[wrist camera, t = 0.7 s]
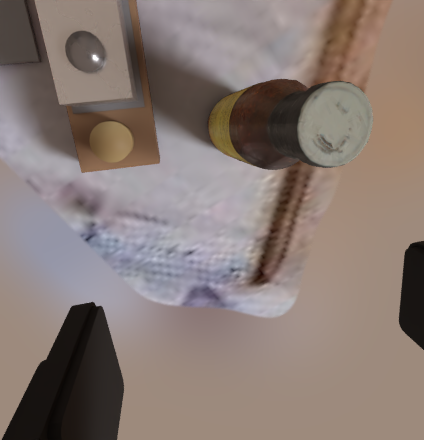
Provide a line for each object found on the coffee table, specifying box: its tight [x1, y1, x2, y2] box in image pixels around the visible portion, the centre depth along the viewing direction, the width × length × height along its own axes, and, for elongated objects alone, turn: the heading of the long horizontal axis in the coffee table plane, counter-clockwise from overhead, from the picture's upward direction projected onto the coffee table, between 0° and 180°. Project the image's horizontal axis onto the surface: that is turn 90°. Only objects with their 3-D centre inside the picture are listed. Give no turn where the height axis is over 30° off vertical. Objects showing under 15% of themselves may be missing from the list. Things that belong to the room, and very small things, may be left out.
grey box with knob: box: [35, 0, 138, 107], centre depth 23 cm, size 9×5×6 cm, turn 6°
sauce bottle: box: [208, 79, 373, 170], centre depth 24 cm, size 7×6×20 cm
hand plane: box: [66, 0, 160, 173], centre depth 27 cm, size 18×7×8 cm, turn 6°
